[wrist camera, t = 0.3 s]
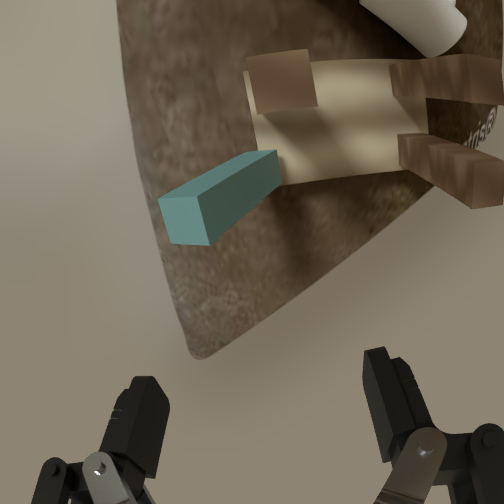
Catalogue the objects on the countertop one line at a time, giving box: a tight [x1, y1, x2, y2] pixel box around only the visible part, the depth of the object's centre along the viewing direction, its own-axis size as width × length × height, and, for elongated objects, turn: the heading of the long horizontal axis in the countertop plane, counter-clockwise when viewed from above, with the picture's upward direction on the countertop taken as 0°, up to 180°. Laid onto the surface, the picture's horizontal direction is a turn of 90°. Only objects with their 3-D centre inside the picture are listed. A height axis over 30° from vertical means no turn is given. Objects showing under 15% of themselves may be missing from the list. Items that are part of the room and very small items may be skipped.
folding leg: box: [158, 149, 282, 246], centre depth 27 cm, size 4×4×14 cm
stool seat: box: [243, 49, 504, 209], centre depth 25 cm, size 13×20×18 cm, turn 101°
